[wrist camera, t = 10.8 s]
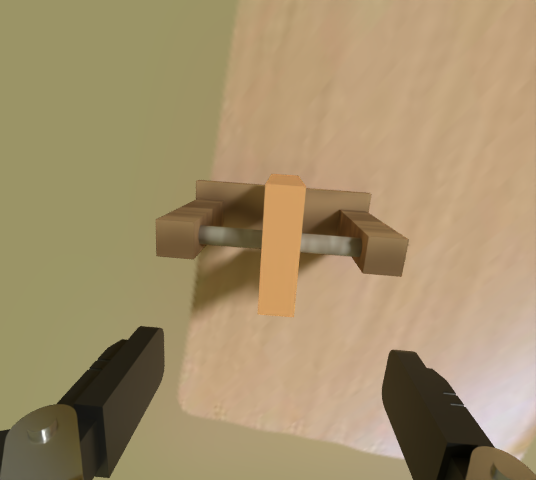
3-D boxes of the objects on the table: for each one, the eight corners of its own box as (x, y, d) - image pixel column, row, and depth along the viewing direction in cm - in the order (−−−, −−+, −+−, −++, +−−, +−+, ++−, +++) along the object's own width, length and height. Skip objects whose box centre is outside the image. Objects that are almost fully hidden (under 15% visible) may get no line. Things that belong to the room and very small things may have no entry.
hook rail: (199, 180, 36) (150, 193, 23) (368, 192, 36) (418, 213, 22) (198, 236, 38) (153, 279, 25) (359, 250, 37) (400, 300, 24)
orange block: (271, 173, 32) (265, 183, 21) (298, 175, 32) (306, 186, 21) (266, 262, 35) (257, 314, 24) (290, 264, 35) (293, 317, 24)
